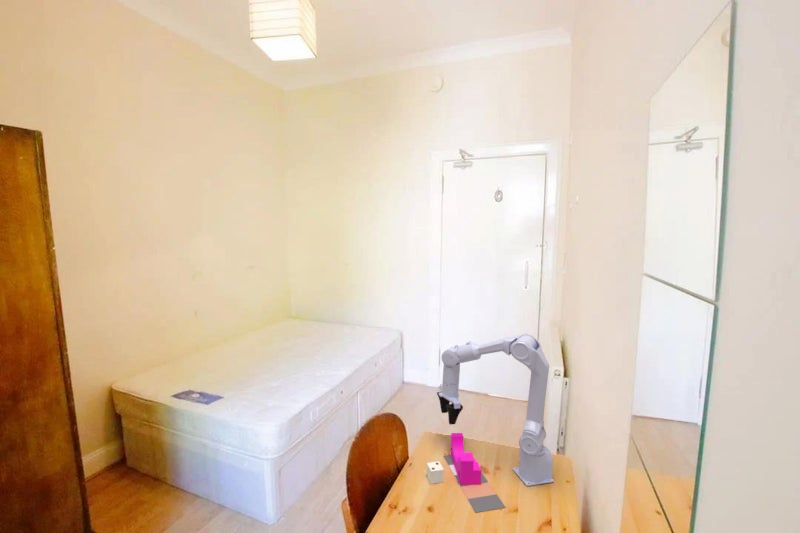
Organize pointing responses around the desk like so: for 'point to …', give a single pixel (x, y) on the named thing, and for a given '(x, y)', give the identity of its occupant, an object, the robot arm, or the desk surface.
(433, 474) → the die
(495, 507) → the board
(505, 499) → the desk surface
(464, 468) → the toy block
